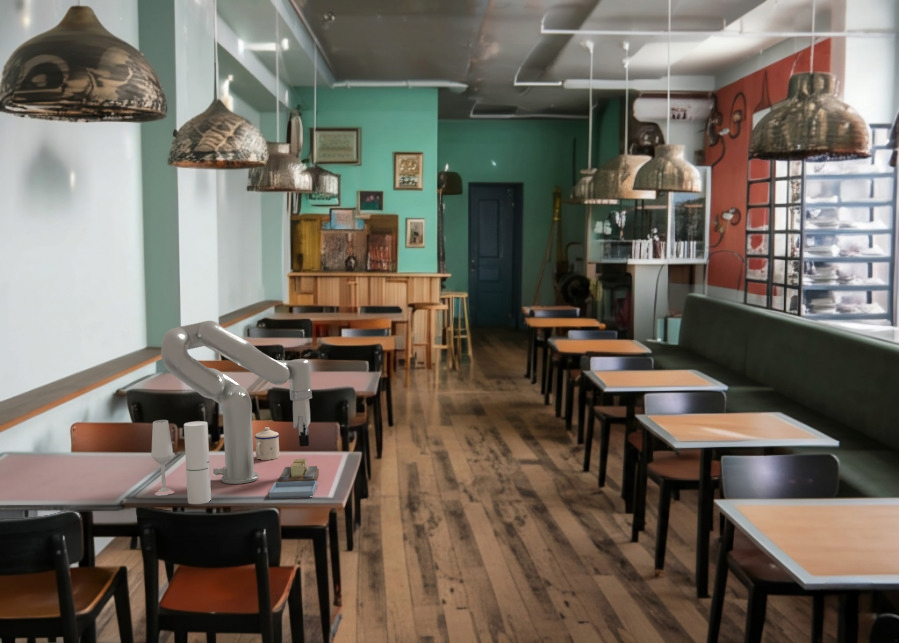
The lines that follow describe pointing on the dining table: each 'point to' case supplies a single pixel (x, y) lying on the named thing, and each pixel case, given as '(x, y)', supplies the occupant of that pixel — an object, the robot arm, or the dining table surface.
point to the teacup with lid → (267, 444)
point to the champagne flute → (161, 447)
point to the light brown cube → (301, 462)
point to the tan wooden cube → (297, 470)
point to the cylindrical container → (197, 462)
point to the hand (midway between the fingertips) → (304, 445)
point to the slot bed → (310, 475)
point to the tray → (293, 489)
